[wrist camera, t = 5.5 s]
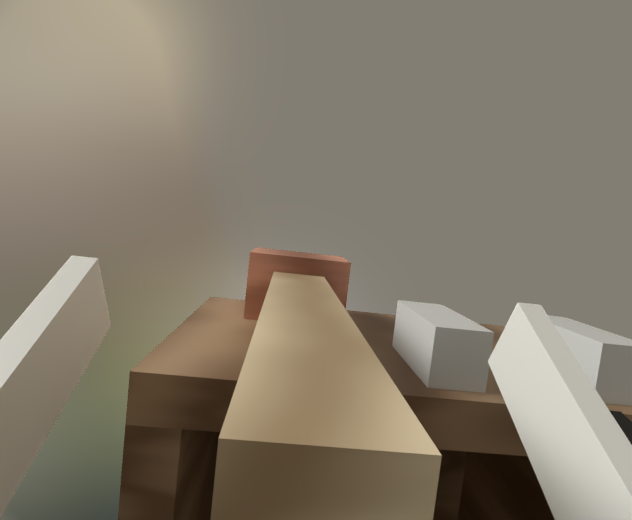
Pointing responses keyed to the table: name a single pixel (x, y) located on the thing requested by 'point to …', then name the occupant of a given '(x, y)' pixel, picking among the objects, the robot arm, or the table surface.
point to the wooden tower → (216, 393)
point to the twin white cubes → (476, 345)
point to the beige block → (317, 409)
